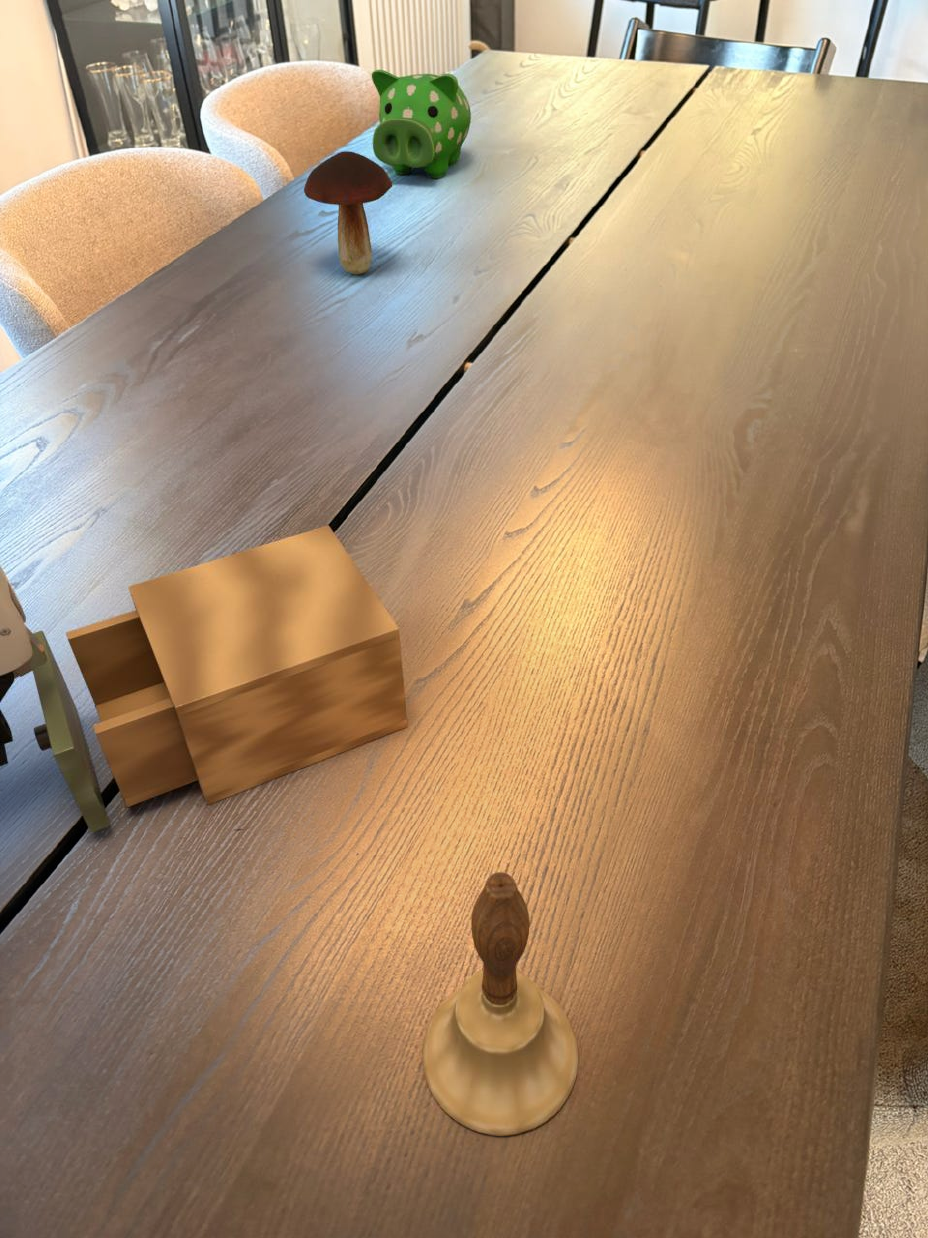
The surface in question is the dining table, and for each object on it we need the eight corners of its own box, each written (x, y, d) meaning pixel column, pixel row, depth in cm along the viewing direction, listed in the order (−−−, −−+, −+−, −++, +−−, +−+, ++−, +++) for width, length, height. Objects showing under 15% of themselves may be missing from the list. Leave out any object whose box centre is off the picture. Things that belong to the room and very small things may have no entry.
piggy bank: (363, 183, 152) (354, 78, 142) (404, 149, 165) (398, 50, 155) (447, 191, 149) (444, 84, 139) (483, 156, 161) (482, 55, 151)
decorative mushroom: (366, 296, 121) (354, 171, 111) (298, 278, 126) (281, 157, 115) (414, 265, 128) (407, 145, 118) (348, 250, 132) (336, 133, 122)
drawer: (71, 841, 60) (31, 762, 55) (42, 720, 68) (4, 641, 62) (292, 755, 65) (275, 676, 60) (242, 652, 72) (222, 573, 67)
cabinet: (207, 805, 63) (175, 707, 57) (160, 683, 71) (127, 586, 65) (407, 726, 68) (399, 628, 61) (342, 621, 76) (328, 524, 70)
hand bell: (391, 1044, 51) (364, 880, 40) (506, 951, 55) (510, 778, 44) (492, 1174, 47) (493, 1027, 36) (611, 1062, 50) (644, 899, 40)
